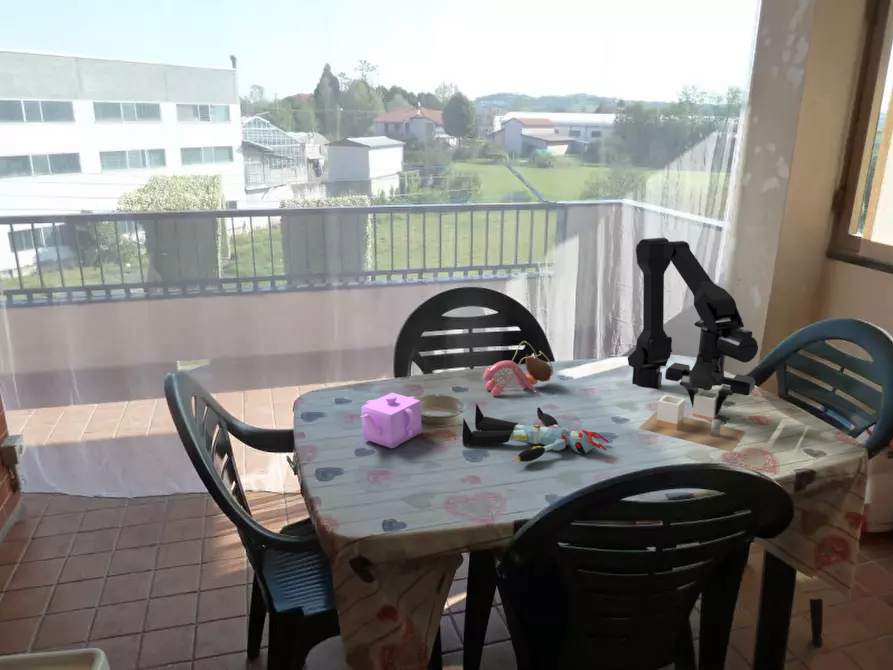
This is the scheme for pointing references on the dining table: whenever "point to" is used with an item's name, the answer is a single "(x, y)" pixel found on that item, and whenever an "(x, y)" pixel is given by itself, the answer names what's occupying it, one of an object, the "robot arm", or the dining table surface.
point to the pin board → (699, 432)
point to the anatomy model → (519, 372)
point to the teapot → (391, 419)
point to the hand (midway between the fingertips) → (705, 412)
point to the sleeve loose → (705, 404)
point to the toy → (528, 435)
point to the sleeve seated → (670, 412)
